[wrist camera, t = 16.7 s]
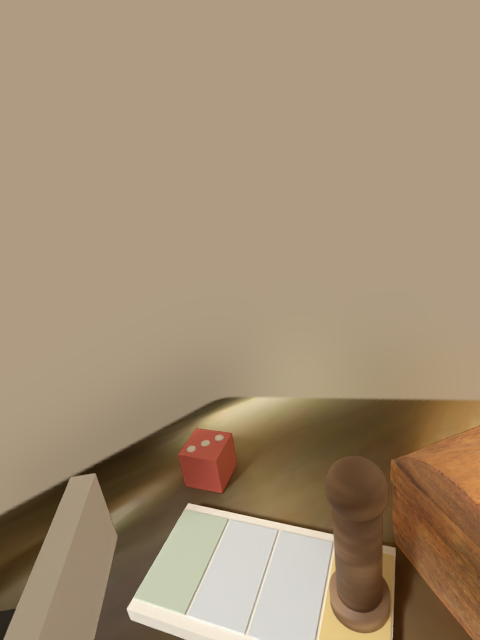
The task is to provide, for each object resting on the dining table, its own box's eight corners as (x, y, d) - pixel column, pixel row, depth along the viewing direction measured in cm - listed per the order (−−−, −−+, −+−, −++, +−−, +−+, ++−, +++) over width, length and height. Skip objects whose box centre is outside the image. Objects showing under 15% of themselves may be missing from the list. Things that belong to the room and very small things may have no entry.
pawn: (325, 623, 33) (314, 483, 28) (334, 568, 37) (326, 437, 32) (389, 641, 31) (391, 496, 26) (390, 581, 36) (392, 445, 30)
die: (185, 486, 51) (177, 454, 49) (202, 458, 55) (196, 427, 53) (222, 493, 49) (215, 460, 47) (237, 464, 54) (231, 432, 52)
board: (130, 619, 37) (126, 607, 37) (190, 512, 47) (187, 501, 47) (390, 712, 29) (390, 698, 28) (395, 558, 39) (395, 546, 38)
